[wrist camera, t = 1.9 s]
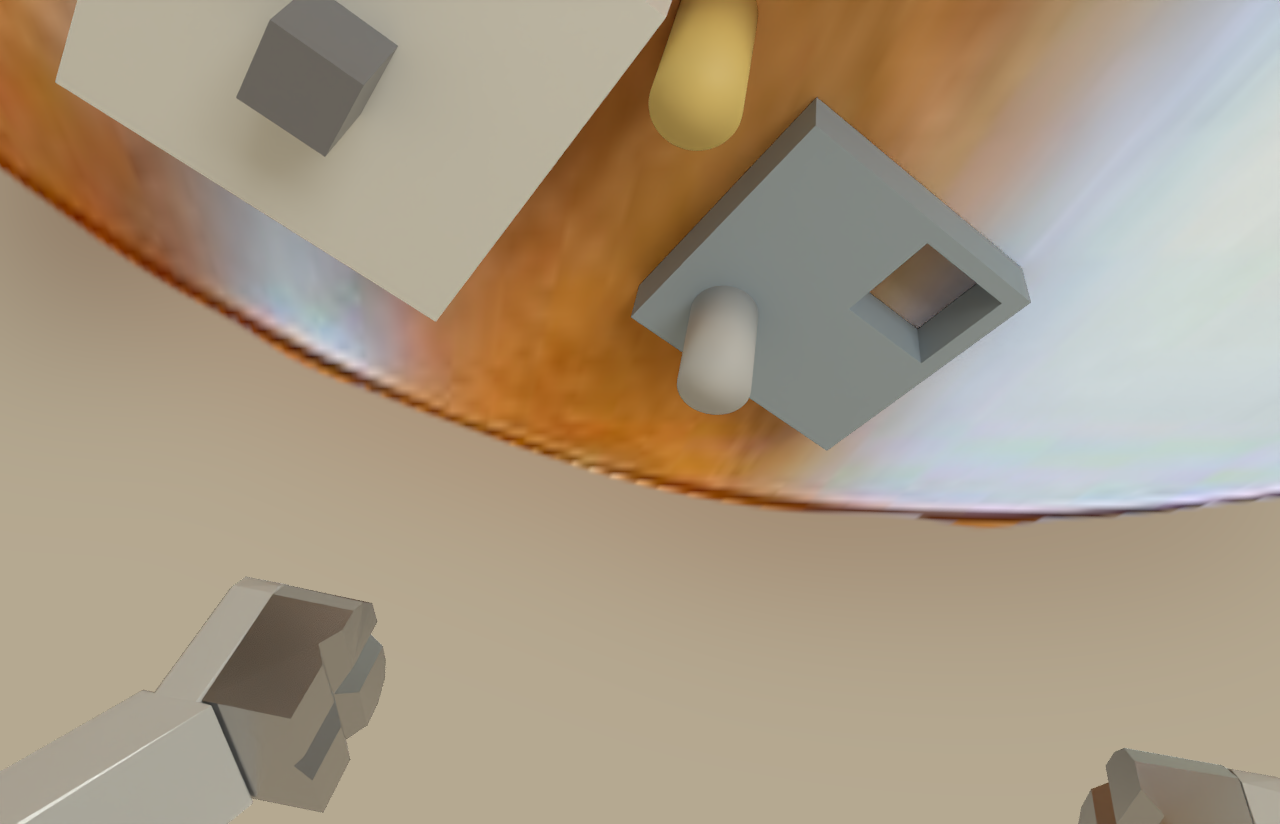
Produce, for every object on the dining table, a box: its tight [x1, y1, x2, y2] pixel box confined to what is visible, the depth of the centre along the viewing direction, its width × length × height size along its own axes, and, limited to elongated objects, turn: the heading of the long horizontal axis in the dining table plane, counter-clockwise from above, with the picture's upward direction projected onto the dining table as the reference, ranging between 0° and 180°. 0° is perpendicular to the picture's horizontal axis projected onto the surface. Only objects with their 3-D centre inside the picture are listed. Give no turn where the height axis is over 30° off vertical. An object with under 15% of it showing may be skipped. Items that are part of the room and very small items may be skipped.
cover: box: [55, 0, 672, 322], centre depth 32 cm, size 15×15×11 cm
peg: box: [649, 0, 758, 151], centre depth 33 cm, size 3×3×8 cm
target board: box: [631, 97, 1031, 450], centre depth 40 cm, size 12×12×8 cm
